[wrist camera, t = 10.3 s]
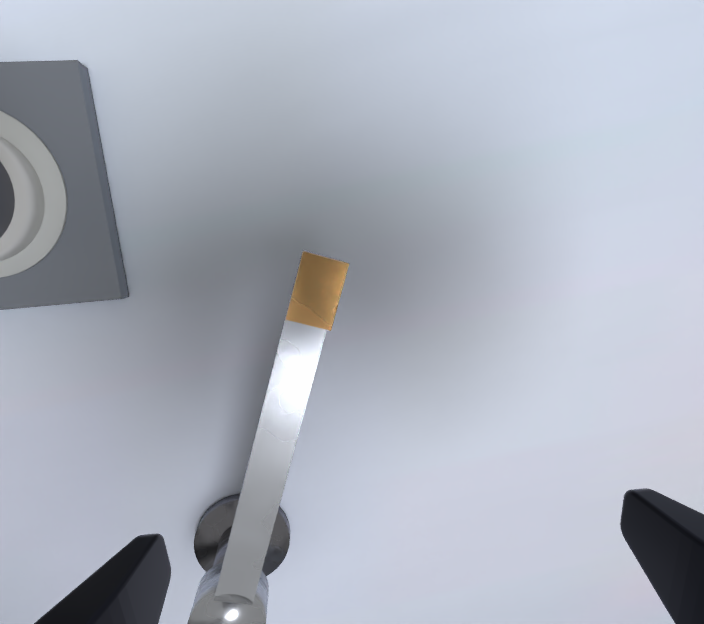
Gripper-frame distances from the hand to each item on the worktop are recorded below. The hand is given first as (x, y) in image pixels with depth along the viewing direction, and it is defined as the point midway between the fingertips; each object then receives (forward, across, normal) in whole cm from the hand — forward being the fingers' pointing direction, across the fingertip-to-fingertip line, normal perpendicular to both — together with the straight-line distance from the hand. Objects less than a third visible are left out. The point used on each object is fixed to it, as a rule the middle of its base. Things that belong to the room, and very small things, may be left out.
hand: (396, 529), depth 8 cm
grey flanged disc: (+12, +7, +11) cm, 18 cm away
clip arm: (+9, +4, +4) cm, 11 cm away
